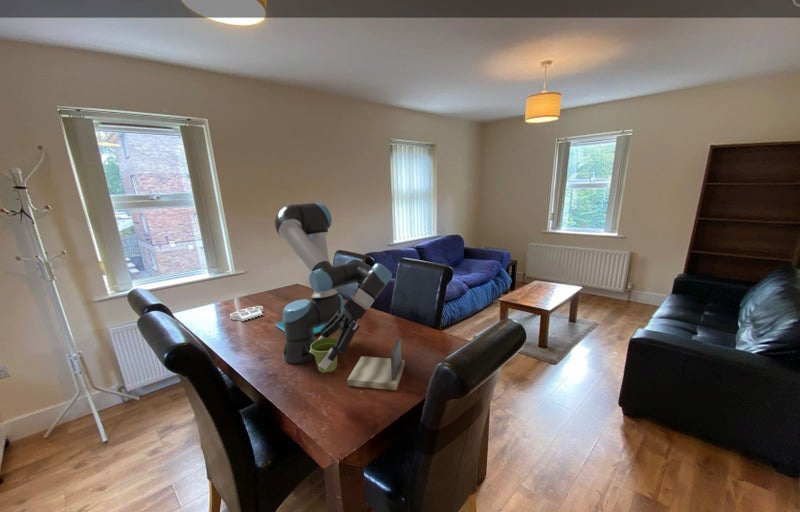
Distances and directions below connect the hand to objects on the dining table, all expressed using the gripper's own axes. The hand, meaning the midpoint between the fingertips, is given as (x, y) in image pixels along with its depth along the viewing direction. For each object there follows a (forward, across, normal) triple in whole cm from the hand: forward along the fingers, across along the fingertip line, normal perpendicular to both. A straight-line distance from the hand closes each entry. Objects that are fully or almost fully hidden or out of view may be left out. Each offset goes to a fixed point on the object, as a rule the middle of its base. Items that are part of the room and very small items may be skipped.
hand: (317, 360), depth 101 cm
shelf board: (-5, +2, -27) cm, 27 cm away
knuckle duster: (+20, +98, -5) cm, 100 cm away
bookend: (-11, -3, -29) cm, 31 cm away
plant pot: (+1, 0, -5) cm, 5 cm away
